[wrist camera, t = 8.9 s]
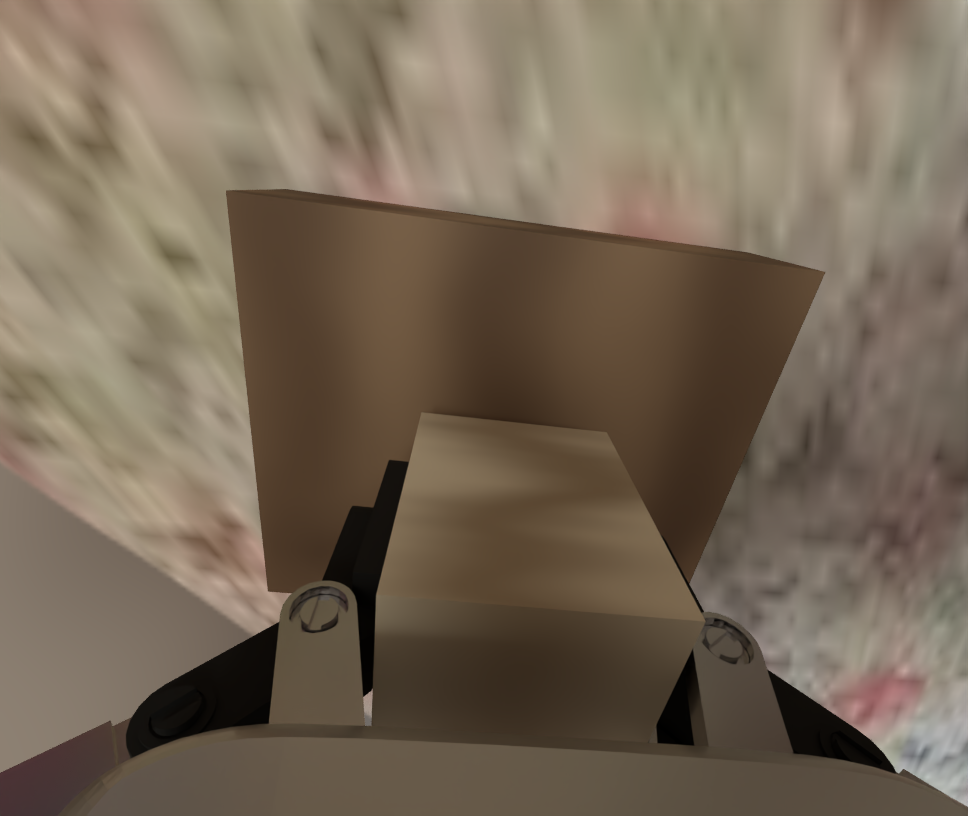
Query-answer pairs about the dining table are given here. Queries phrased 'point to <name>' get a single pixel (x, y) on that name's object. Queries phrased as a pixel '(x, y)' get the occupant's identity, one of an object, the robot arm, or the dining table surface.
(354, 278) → the walnut base
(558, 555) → the maple block
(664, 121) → the dining table surface
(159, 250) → the dining table surface
